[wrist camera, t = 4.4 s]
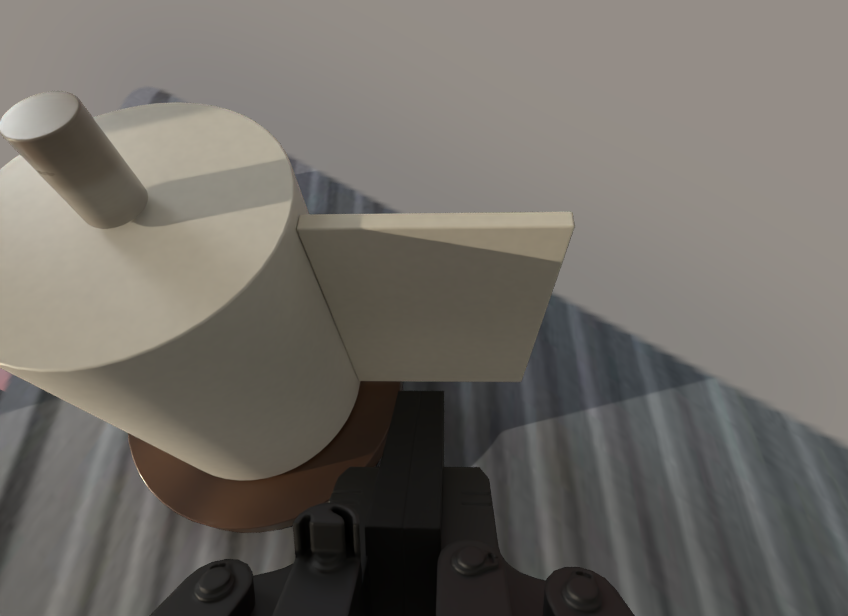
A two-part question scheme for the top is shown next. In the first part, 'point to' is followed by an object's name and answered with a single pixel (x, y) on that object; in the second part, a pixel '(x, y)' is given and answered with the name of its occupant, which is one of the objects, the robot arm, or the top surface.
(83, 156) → the towel holder
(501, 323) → the paper towel roll
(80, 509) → the top surface
